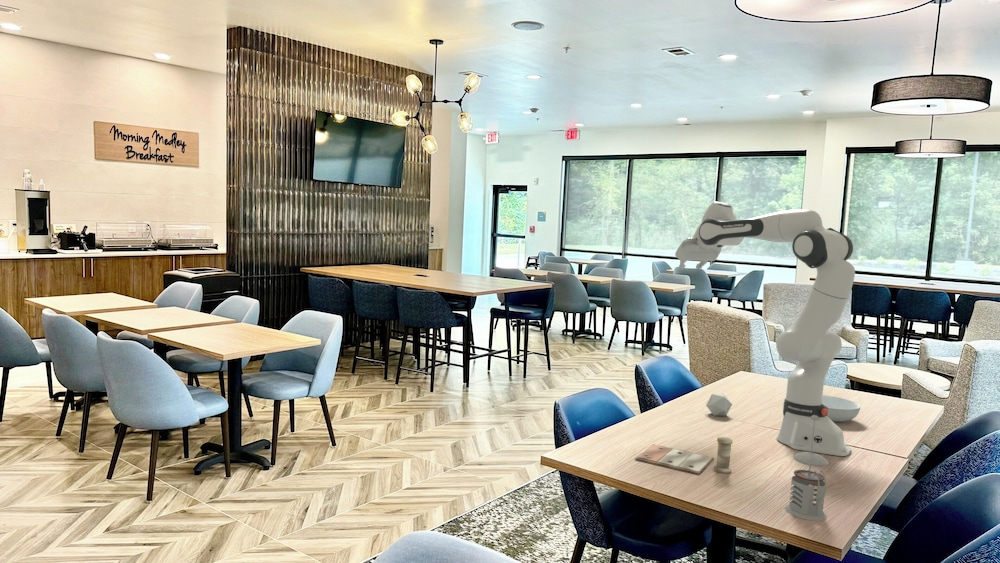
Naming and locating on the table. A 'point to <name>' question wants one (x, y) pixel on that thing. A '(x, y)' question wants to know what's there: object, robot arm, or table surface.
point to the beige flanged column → (723, 455)
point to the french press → (805, 493)
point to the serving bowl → (840, 408)
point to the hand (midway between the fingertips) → (689, 268)
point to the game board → (675, 459)
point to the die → (719, 404)
